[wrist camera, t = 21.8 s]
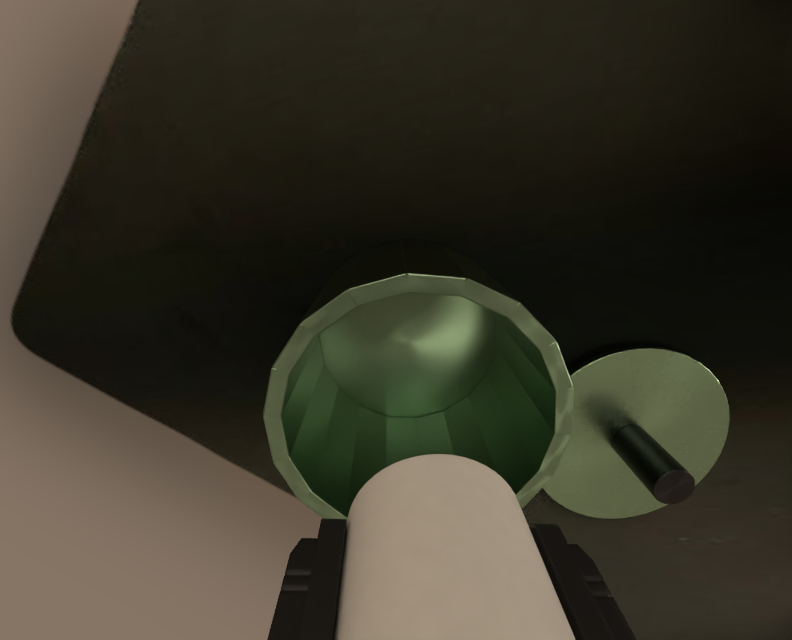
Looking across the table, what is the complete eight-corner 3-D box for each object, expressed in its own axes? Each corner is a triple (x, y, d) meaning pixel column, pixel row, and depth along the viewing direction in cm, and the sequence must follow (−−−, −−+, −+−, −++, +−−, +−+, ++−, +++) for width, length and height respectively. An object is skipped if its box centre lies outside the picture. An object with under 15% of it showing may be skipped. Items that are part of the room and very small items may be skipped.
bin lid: (592, 310, 28) (647, 342, 22) (757, 387, 30) (847, 436, 24) (491, 471, 32) (514, 535, 26) (642, 529, 34) (695, 601, 28)
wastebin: (355, 203, 26) (332, 215, 15) (542, 291, 28) (637, 355, 17) (281, 381, 29) (222, 489, 19) (451, 447, 31) (482, 578, 21)
